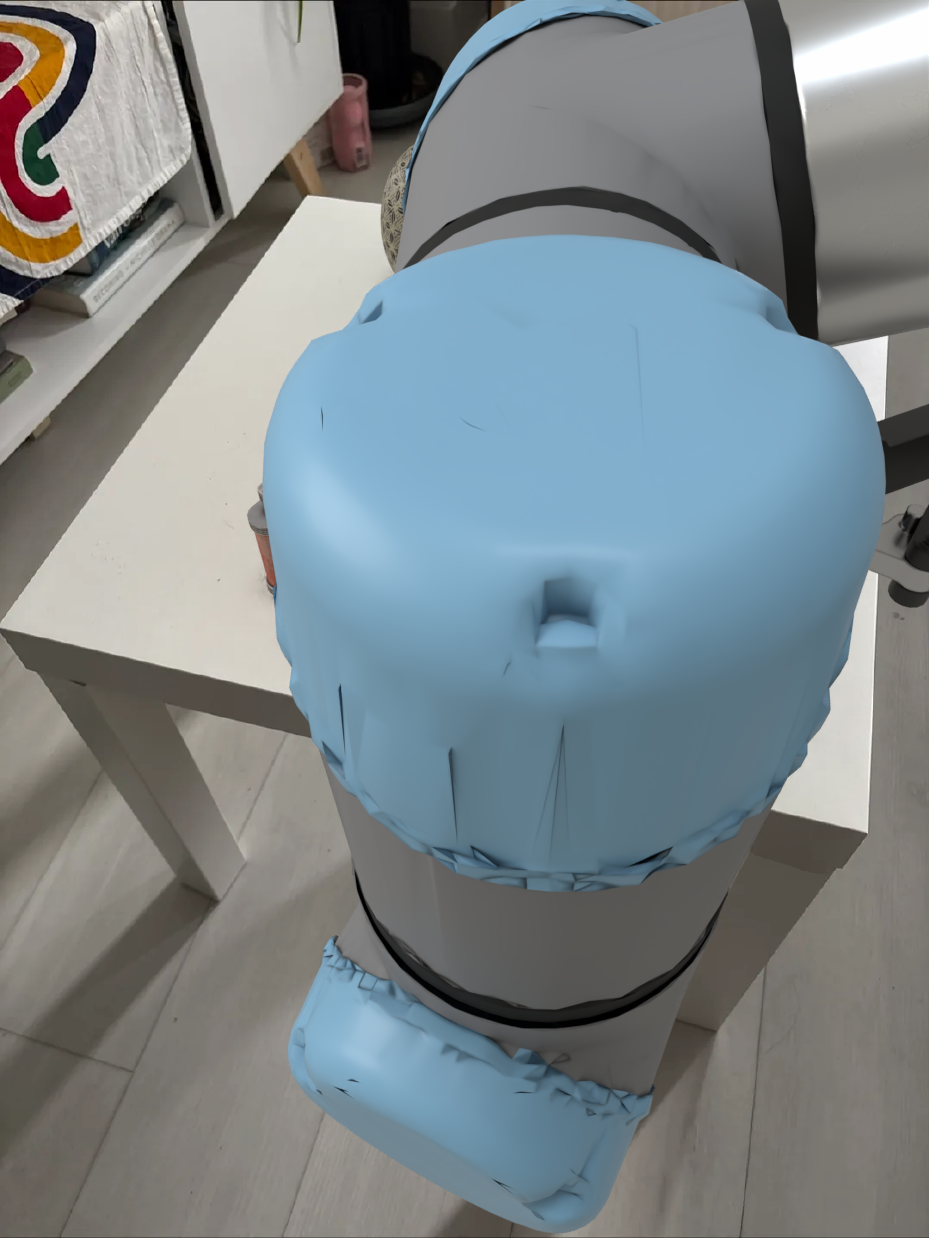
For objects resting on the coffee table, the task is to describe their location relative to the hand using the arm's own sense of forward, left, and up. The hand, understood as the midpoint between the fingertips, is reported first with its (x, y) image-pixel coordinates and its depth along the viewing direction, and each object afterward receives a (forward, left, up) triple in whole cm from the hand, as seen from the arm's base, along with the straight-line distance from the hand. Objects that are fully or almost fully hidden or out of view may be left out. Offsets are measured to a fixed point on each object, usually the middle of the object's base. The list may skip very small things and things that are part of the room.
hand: (835, 258), depth 40 cm
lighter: (+30, +1, -32) cm, 44 cm away
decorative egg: (+37, -35, -32) cm, 60 cm away
